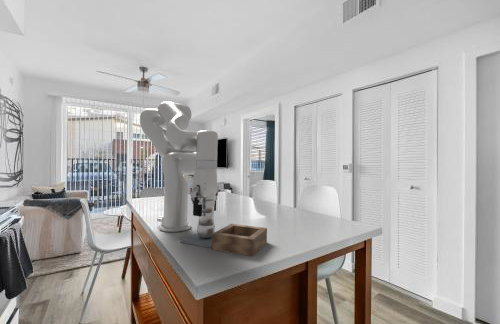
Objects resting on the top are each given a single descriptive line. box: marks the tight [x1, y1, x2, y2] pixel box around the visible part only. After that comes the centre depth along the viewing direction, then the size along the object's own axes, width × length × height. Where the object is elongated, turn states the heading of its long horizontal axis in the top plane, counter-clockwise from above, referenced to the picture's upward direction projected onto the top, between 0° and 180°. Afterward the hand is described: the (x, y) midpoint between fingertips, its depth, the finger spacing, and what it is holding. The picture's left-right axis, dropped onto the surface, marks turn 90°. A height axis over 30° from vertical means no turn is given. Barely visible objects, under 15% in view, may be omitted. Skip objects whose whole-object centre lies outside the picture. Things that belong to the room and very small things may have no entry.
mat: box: [180, 233, 212, 249], centre depth 86 cm, size 12×12×1 cm
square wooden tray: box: [211, 223, 268, 257], centre depth 81 cm, size 14×14×5 cm
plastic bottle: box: [196, 192, 216, 238], centre depth 87 cm, size 6×7×20 cm
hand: (205, 213), depth 86 cm, fingers open, 9 cm apart
